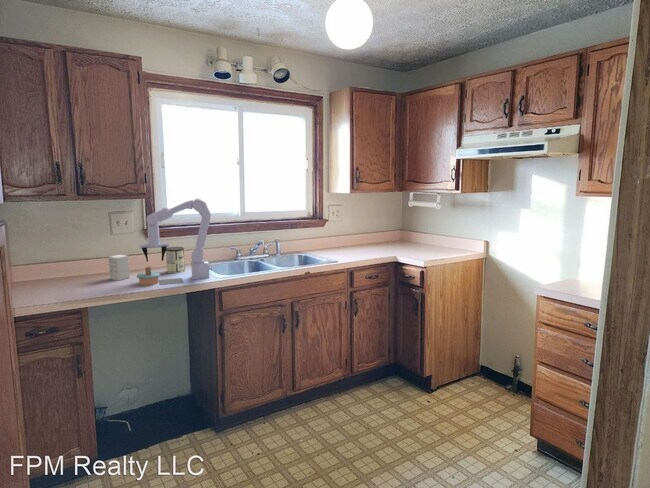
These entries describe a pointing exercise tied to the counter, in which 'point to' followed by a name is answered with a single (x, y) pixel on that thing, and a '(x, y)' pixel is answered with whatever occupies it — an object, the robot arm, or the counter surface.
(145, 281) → the bowl
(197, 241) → the robot arm
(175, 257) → the coffee can
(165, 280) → the mat
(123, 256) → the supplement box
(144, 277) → the lid
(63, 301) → the counter surface
